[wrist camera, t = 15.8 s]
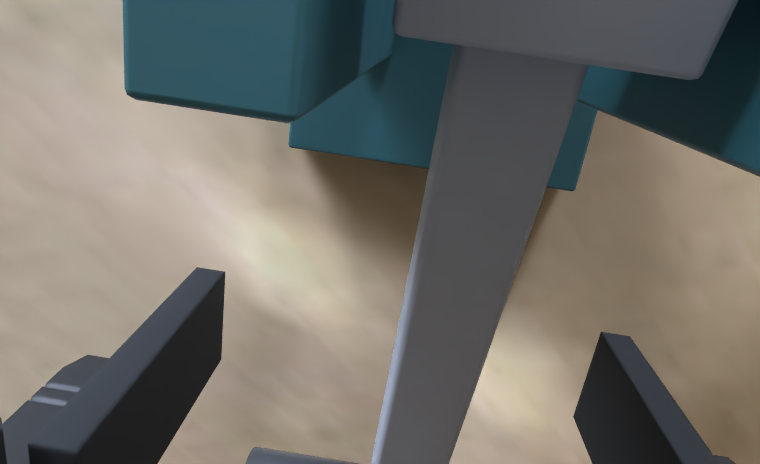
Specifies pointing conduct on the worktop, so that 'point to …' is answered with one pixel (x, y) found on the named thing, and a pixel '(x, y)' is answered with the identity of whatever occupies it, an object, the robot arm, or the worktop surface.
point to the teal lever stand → (408, 80)
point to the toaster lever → (499, 180)
